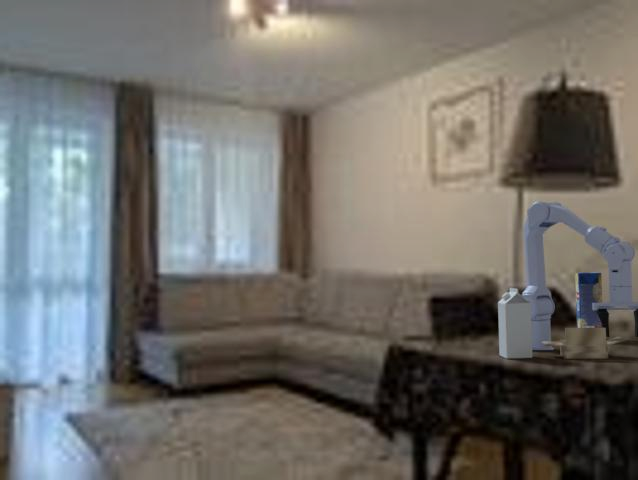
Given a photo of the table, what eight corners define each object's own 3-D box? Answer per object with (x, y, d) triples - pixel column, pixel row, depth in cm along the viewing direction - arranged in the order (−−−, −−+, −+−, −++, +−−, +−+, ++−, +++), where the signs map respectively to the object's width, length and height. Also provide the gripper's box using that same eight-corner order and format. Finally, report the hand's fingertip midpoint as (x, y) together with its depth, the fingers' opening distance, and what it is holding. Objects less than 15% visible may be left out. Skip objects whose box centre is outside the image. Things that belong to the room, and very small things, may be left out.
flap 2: (625, 339, 188) (625, 340, 188) (619, 336, 195) (619, 337, 195) (608, 343, 189) (608, 345, 189) (602, 340, 196) (603, 342, 196)
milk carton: (524, 355, 199) (522, 287, 200) (532, 358, 192) (530, 288, 193) (499, 355, 199) (497, 288, 200) (506, 359, 192) (504, 289, 192)
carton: (546, 358, 191) (545, 344, 191) (540, 352, 204) (540, 339, 204) (608, 359, 188) (607, 344, 188) (598, 352, 201) (598, 339, 201)
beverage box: (598, 338, 237) (596, 272, 238) (603, 341, 226) (601, 273, 227) (577, 338, 239) (575, 272, 239) (581, 341, 228) (578, 273, 229)
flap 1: (565, 344, 190) (566, 344, 190) (565, 327, 191) (565, 327, 190) (606, 344, 188) (606, 344, 188) (605, 327, 189) (605, 327, 188)
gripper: (595, 287, 190) (596, 338, 189) (653, 286, 187) (654, 338, 187) (590, 286, 197) (591, 335, 196) (646, 285, 194) (647, 335, 193)
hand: (622, 336), depth 192 cm, fingers open, 7 cm apart
